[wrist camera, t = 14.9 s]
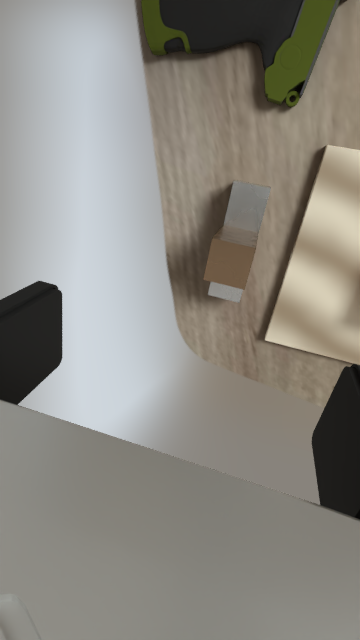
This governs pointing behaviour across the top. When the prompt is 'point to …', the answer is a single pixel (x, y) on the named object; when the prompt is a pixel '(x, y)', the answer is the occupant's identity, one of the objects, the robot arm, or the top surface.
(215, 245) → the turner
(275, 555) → the robot arm
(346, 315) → the board
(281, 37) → the gun
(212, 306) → the top surface
